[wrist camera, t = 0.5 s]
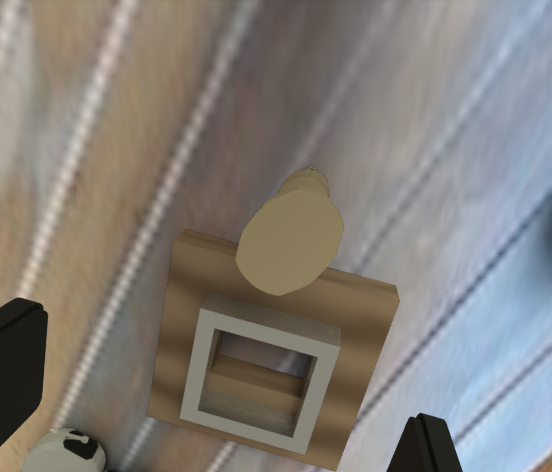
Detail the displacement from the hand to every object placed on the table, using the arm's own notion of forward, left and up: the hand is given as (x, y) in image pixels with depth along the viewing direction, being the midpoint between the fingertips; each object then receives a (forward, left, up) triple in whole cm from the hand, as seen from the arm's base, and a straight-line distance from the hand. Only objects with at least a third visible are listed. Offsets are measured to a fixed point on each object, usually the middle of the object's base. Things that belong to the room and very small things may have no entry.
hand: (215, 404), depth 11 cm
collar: (+18, 0, -26) cm, 31 cm away
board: (+18, 0, -29) cm, 34 cm away
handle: (+1, 0, -29) cm, 29 cm away
